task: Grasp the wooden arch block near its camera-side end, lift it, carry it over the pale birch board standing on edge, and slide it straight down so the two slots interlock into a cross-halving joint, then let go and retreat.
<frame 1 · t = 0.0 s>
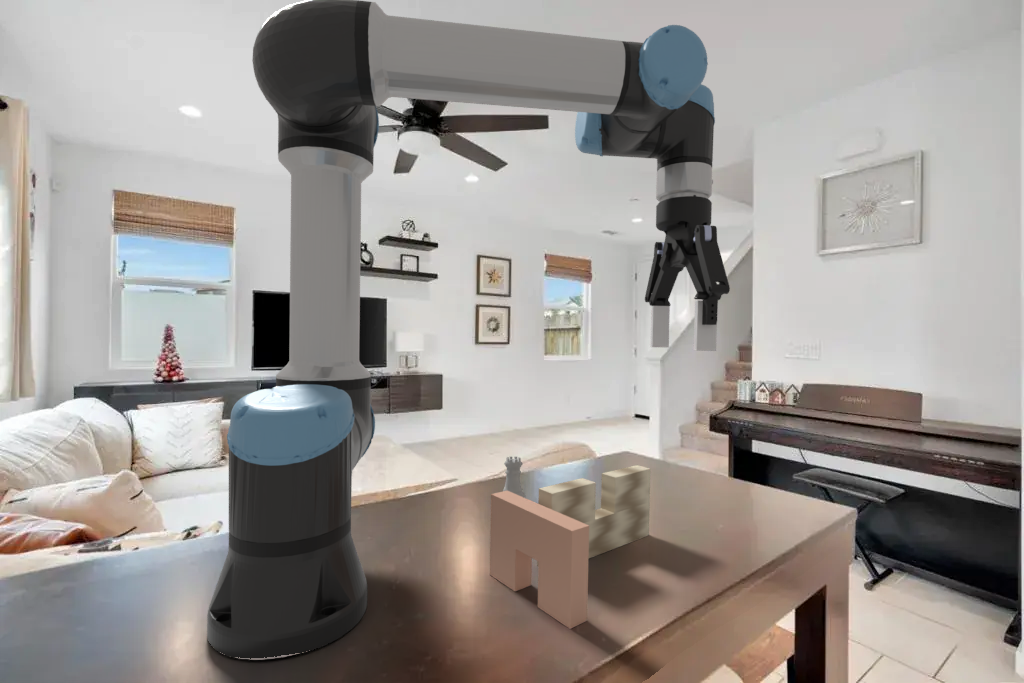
hand: (680, 349, 72), 28 cm above the table, fingers open, 13 cm apart
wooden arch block: (534, 595, 57), on the table
rook chess piece: (512, 504, 87), on the table
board: (597, 549, 69), on the table
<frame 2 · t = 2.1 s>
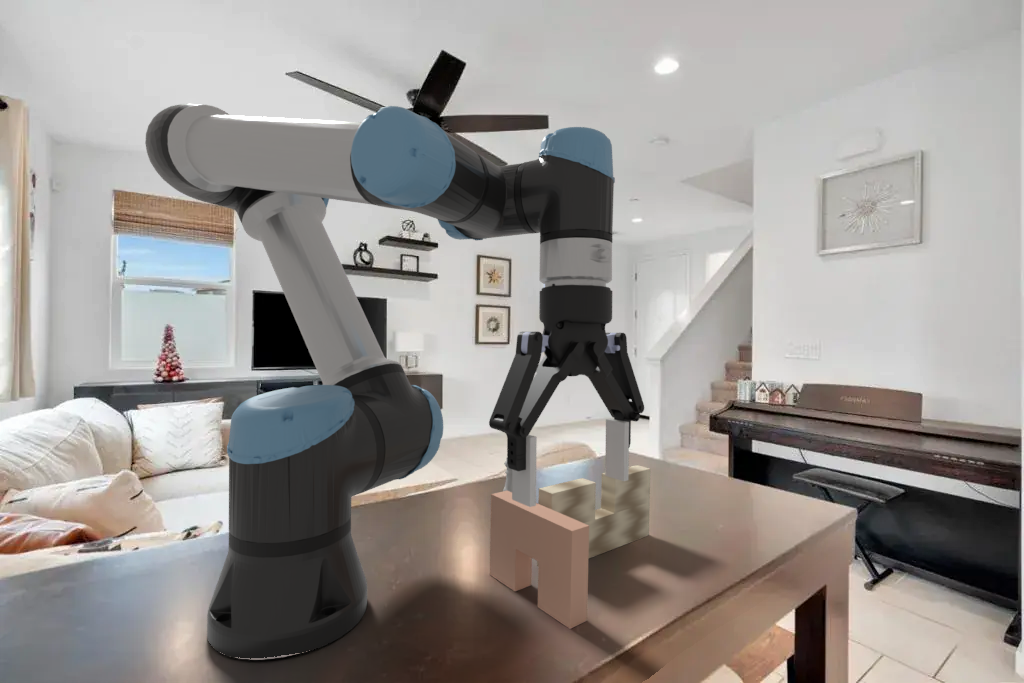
hand: (574, 489, 52), 14 cm above the table, fingers open, 13 cm apart
nothing on the table moved.
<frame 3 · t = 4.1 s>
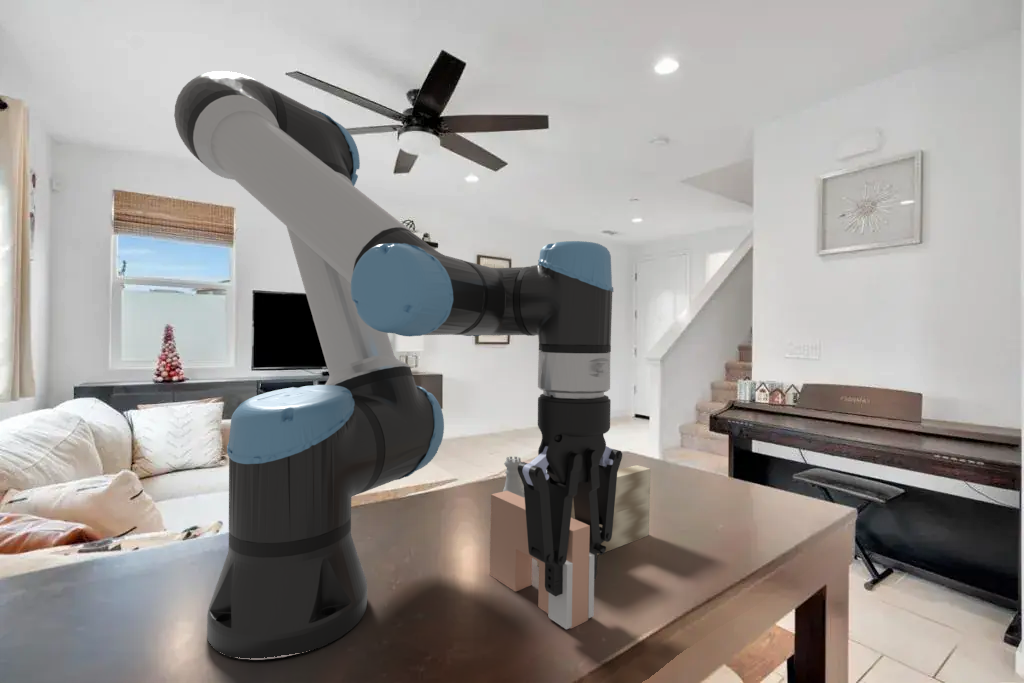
hand: (571, 616, 52), 0 cm above the table, fingers closed on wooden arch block, 2 cm apart
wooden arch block: (534, 595, 57), on the table, touching gripper
everything else where it was.
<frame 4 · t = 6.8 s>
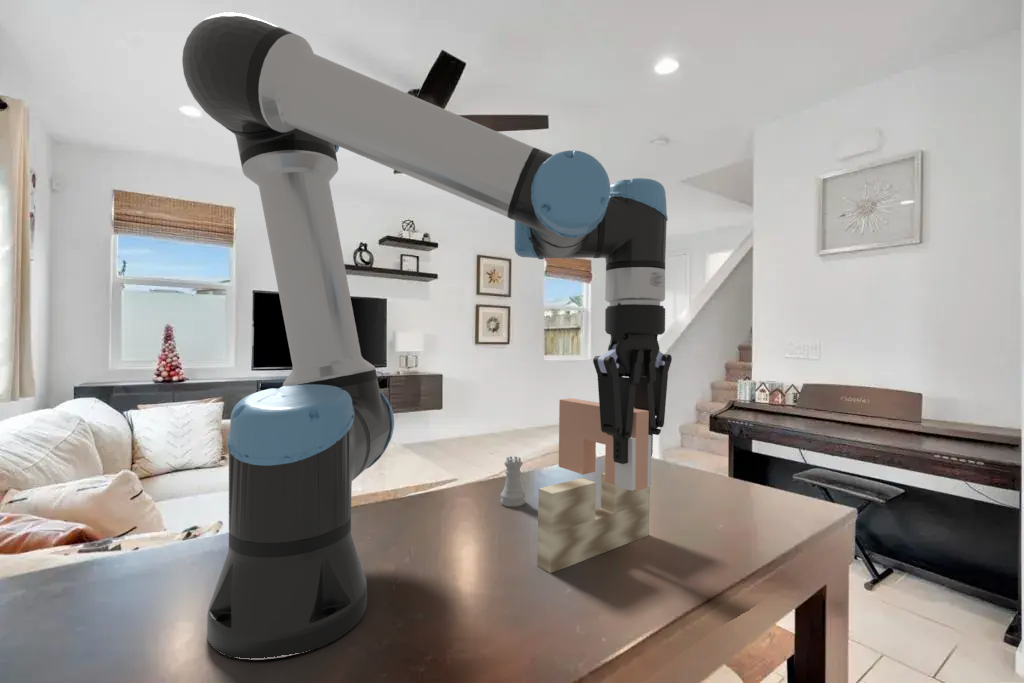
hand: (632, 484, 65), 10 cm above the table, fingers closed on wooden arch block, 2 cm apart
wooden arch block: (599, 476, 69), point 10 cm above the table, touching gripper
everything else where it was.
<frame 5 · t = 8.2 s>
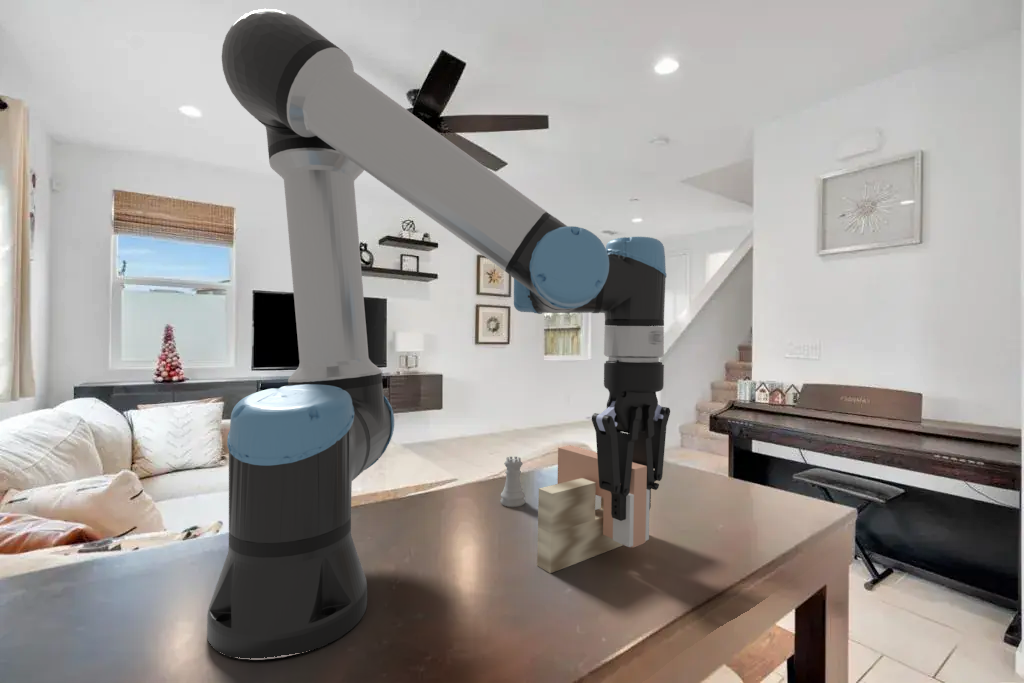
hand: (630, 539, 65), 3 cm above the table, fingers closed on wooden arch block, 2 cm apart
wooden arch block: (598, 527, 69), point 3 cm above the table, touching gripper
everything else where it was.
when the fingers open (1 cm above the table, at t = 9.1 s): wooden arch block drops 1 cm, resting on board.
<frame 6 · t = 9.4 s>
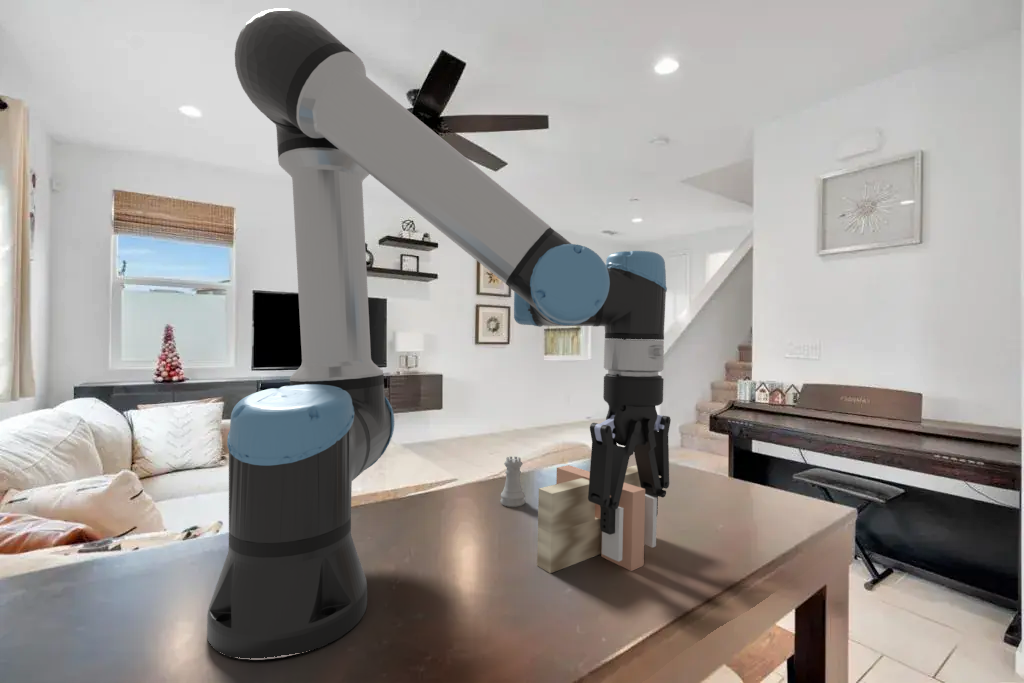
hand: (629, 549, 65), 2 cm above the table, fingers open, 6 cm apart
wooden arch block: (596, 549, 69), resting on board
everything else where it was.
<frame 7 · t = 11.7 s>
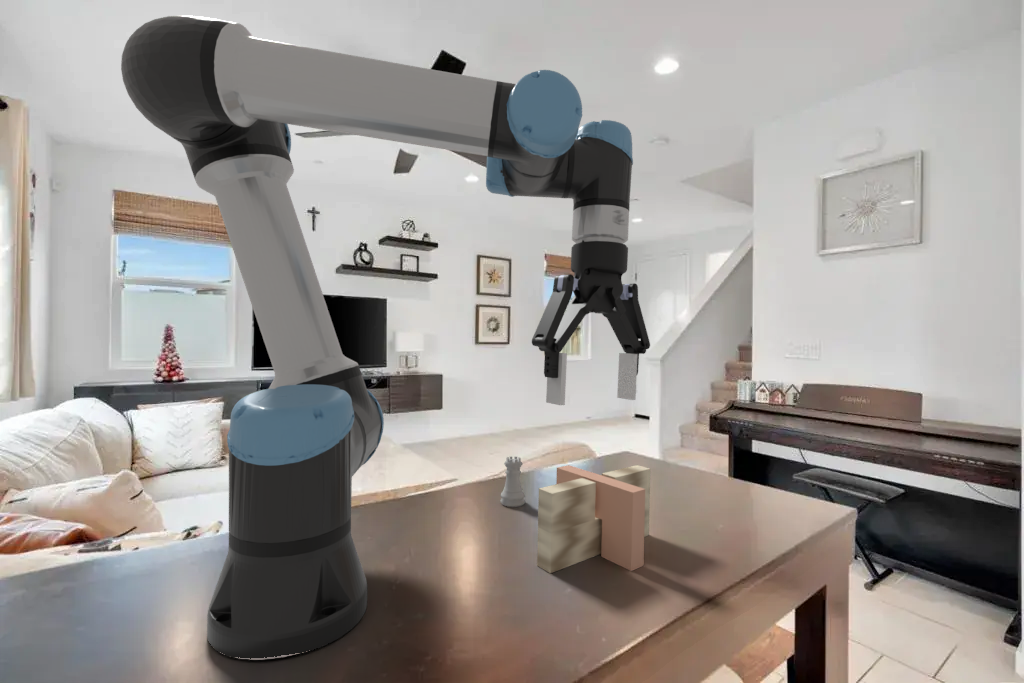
hand: (592, 401, 67), 21 cm above the table, fingers open, 13 cm apart
nothing on the table moved.
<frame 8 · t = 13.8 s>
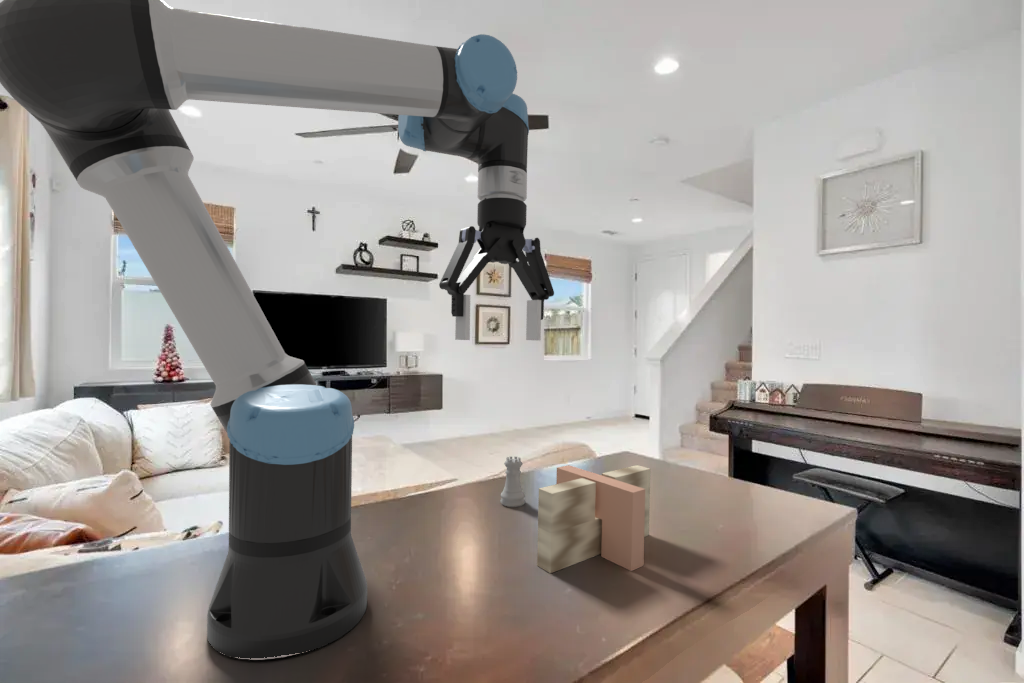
hand: (499, 340, 77), 29 cm above the table, fingers open, 13 cm apart
nothing on the table moved.
at the end: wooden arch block 0.1 cm off-centre on the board, point 0.0 cm above the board's base; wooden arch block tilted 0°; the gripper is holding nothing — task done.
